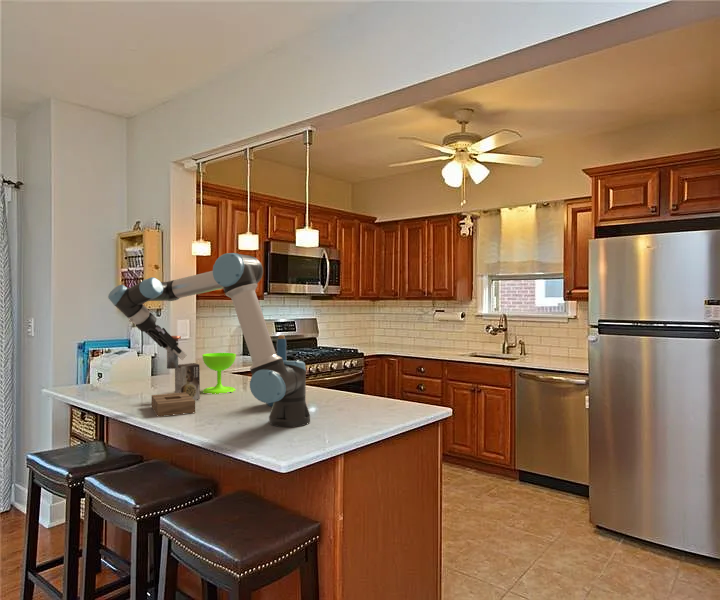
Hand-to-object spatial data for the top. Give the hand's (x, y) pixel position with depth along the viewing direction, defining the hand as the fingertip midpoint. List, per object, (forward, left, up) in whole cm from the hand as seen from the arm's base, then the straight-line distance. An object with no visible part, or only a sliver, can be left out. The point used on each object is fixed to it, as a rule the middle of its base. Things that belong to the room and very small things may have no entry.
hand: (180, 356), depth 221 cm
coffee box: (+17, -6, -22) cm, 28 cm away
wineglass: (+33, -24, -22) cm, 46 cm away
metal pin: (-1, +4, -4) cm, 6 cm away
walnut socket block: (-1, +3, -21) cm, 22 cm away
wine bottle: (-12, -40, -22) cm, 47 cm away
